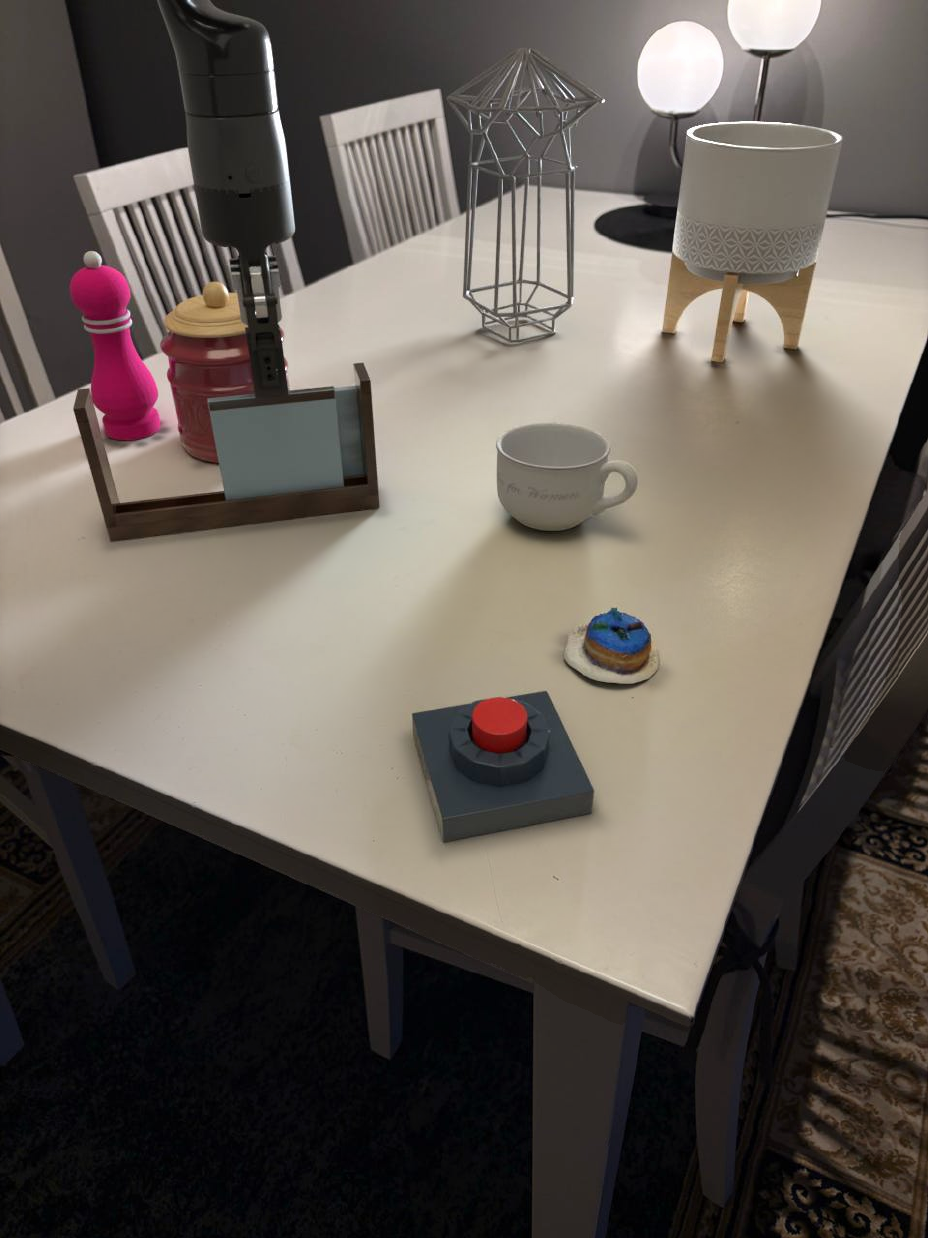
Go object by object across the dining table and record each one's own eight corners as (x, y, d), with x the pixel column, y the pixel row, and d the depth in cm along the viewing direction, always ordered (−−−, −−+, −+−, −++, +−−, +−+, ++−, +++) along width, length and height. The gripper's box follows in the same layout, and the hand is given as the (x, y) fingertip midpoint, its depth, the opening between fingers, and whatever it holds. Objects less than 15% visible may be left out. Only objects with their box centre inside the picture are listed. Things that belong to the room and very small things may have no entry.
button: (479, 758, 59) (479, 738, 58) (466, 721, 61) (466, 701, 60) (533, 748, 59) (534, 729, 58) (517, 712, 62) (518, 693, 61)
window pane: (227, 510, 88) (195, 337, 78) (226, 502, 89) (195, 331, 79) (345, 495, 90) (329, 325, 80) (343, 488, 92) (327, 319, 81)
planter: (647, 352, 125) (672, 142, 110) (676, 310, 139) (702, 118, 124) (789, 371, 119) (836, 152, 104) (804, 325, 133) (848, 126, 118)
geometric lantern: (500, 357, 124) (505, 57, 103) (444, 323, 135) (439, 45, 114) (593, 336, 130) (616, 49, 109) (532, 305, 141) (543, 39, 120)
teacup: (472, 516, 90) (472, 442, 85) (541, 478, 96) (545, 407, 92) (585, 569, 82) (592, 491, 78) (652, 524, 89) (663, 449, 84)
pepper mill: (89, 440, 104) (40, 259, 92) (119, 414, 110) (75, 240, 98) (149, 444, 103) (106, 262, 91) (175, 418, 109) (138, 243, 97)
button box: (443, 842, 58) (441, 800, 55) (412, 735, 65) (410, 693, 63) (592, 813, 60) (597, 770, 57) (545, 712, 67) (548, 671, 65)
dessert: (679, 675, 69) (641, 626, 66) (608, 722, 71) (567, 677, 68) (646, 619, 76) (609, 573, 73) (581, 664, 77) (543, 620, 74)
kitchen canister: (315, 448, 102) (296, 288, 92) (202, 476, 97) (169, 310, 86) (272, 407, 111) (251, 257, 101) (167, 431, 106) (133, 276, 95)
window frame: (110, 541, 87) (72, 408, 79) (113, 518, 90) (77, 389, 82) (379, 507, 92) (370, 379, 83) (372, 487, 95) (363, 362, 87)
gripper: (192, 161, 77) (225, 360, 87) (193, 196, 66) (231, 418, 77) (282, 156, 78) (304, 353, 89) (296, 190, 68) (320, 409, 78)
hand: (270, 382), depth 83 cm, fingers closed on window pane
